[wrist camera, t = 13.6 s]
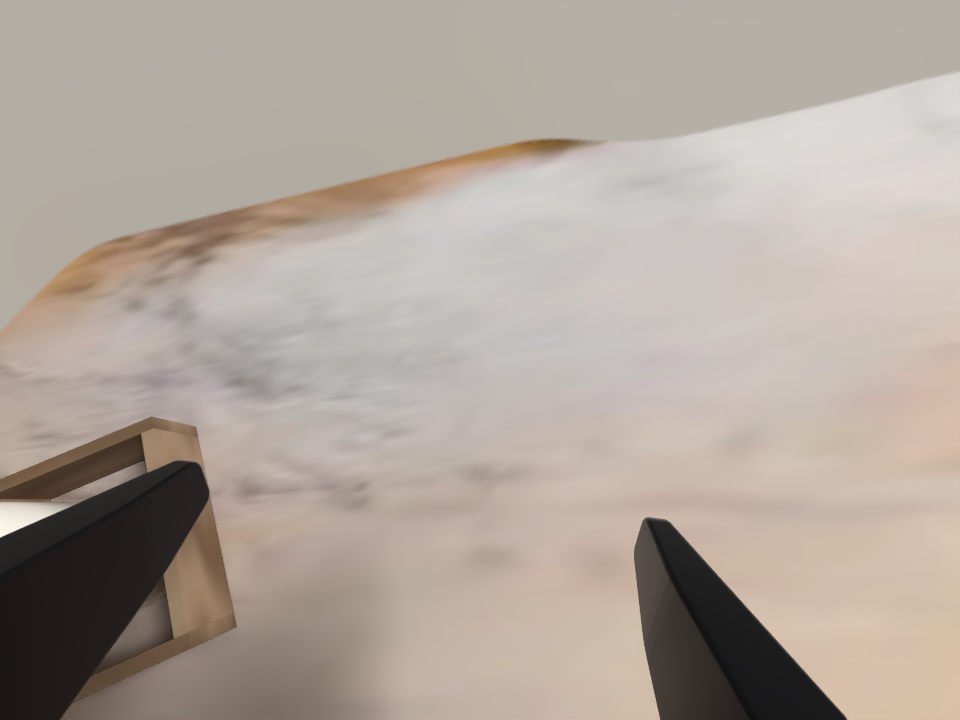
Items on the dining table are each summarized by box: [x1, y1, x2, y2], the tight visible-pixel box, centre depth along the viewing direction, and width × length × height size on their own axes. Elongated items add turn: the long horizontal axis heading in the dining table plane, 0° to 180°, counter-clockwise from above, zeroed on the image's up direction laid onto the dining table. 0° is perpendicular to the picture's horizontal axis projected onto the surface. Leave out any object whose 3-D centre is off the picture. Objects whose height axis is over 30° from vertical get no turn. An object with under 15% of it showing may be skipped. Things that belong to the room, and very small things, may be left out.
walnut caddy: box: [0, 417, 237, 702], centre depth 19 cm, size 10×18×3 cm, turn 113°
